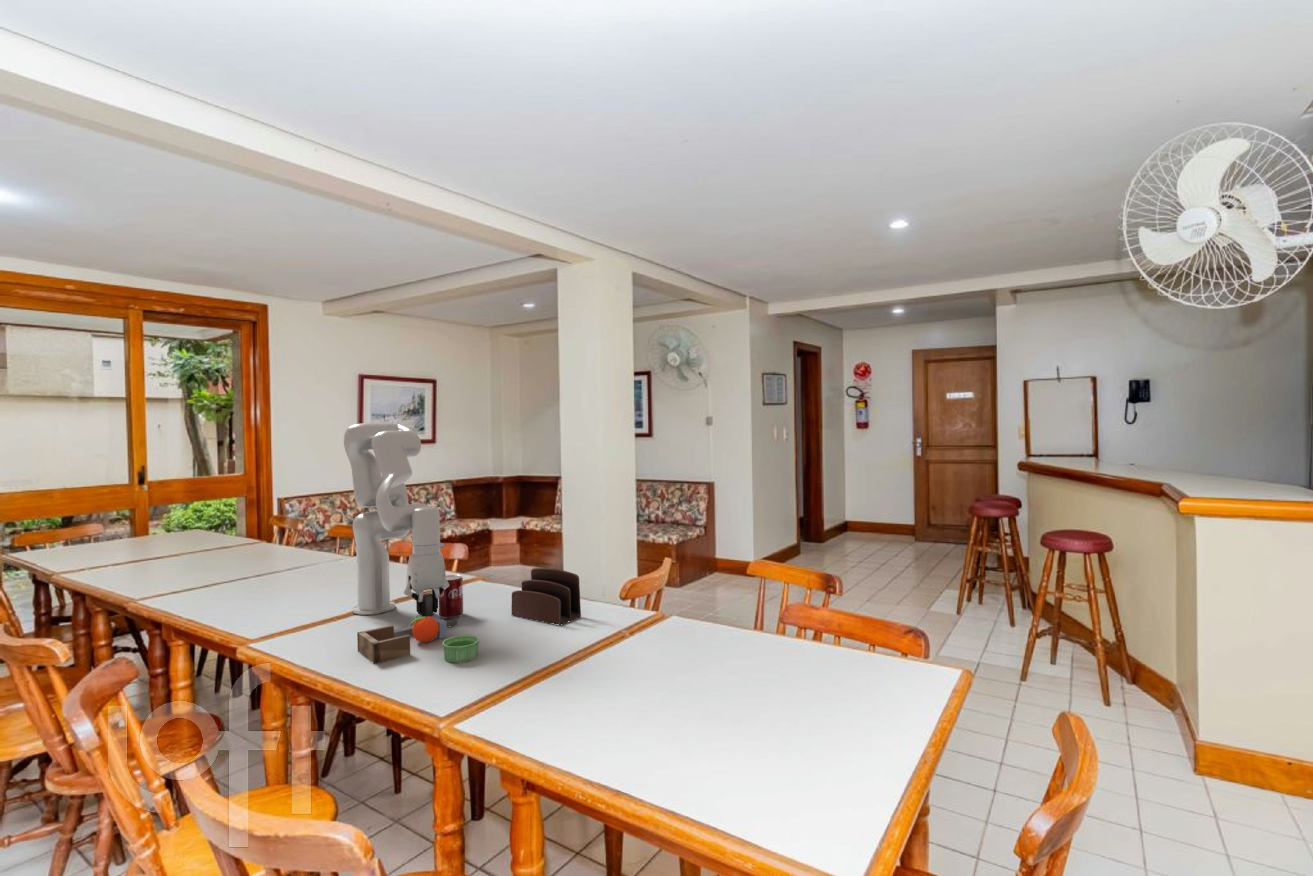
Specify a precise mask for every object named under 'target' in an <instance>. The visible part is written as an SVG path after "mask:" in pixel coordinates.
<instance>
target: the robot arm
mask: <svg viewBox="0 0 1313 876" xmlns="http://www.w3.org/2000/svg"><path fill="white" fill-rule="evenodd" d="M343 447H344V450H345V453H346V454H345V455H346V457H347V458H348V461H349V463H350V467H351V476H352V477H351V479H352V486H353V494H354V495H353V496H354V500H355V504H356V505H357V506H358V507H360V508H376V510H374V511H365V512H363V513H360V514H358V515H357V516H355V518H354V519H353V522H352V533H353V536H354V541H355V542H354V543H355V549H356V550H355V551H356V579H357V580H356V582H357V585H356V587H357V605H354V606H353V607H352V613H353V614H356V615H360V616H361V615H363V616H364V615H365V616H366V615H368V616H369V615H378V614H382V612H383V613H387V612H390V611H393V609H395V608H396V603H395V601H392V600H391V598H390V597H391V594H390V593H391V592H390V590H391V589H390V588H391V587H390V556H389V555H390V553H389V551H388V549H387V548H386V547H385V546H384V544H383V543H382V541H385V540H391V539H398V538H403V537H406V536H407V534H409V532H410V531H411V537H412V538H411V539H412V540H411V542H412V543H411V547H412V550H411V551H412V554H411V555H409V556H408V557H409V558H408V562H407V568H406V587H405V589H404V590H403V594H404V595H406V596H409V597H411V598H412V599H413V600H414V601H416V602H415V603H416V606H415V607H416V612H417V615H422V616H423V615H425V602H424V601H423V594H424V591H429V590H430V592H431V593H430V594H433V613H435V614H438V610H439V597H440V595H441V593H442V592H443V591H444V590H445V589H446V588H448V587H449V583H448V581H447V580H446V576H447V574H446V565H445V564H446V563H445V559H444V555H443V552H441V550H442V549H443V548H445V543H441V531H440V526H441V525H440V520H441V519H440V510H439V509H438V507H436V506H432V505H431V506H430V505H428V504H426V503H413V504H411V503H409V498H408V491H407V486H406V484H405V483H406V482H407V481H409V479H410V478H411V477H412V475H413V470H412V467H411V465H410V461H409V459H408V458H409V457H417V456H418V455H419V454H420V452H421V450H422V449H421V448H422V441H421V440H420V437H419V435H418V434H417V432H415V431H414V430H412V429H411V428H409V427H407V426H404V425H403V424H400V423H395V422H392V423H389V422H386V423H385V422H384V423H383V422H380V423H378V422H376V423H375V422H370V423H369V422H368V423H366V422H364V423H363V422H362V423H357V424H352V425H350V426H349V427H347V428H346V430H345V432H344V435H343ZM370 450H373V453H374V454H373V453H372V451H370ZM412 591H413V592H412Z"/></svg>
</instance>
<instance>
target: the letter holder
mask: <svg viewBox="0 0 1313 876" xmlns="http://www.w3.org/2000/svg"><path fill="white" fill-rule="evenodd" d="M580 587H581V586H580V577H579V575H578V574H576V573H573V572H570V571H567V570H563V569H557V568H548V567H533V568H532V569H531V570H530V579H524V580H522V581H521V589H520V590H514V591H512V592H511V616H512V615H513V616H512V617H515V616H516V617H517V618H520V617H522V618H521V619H525V618H527V619H526V620H530V619H532V620H531V621H535V620H538V621H537V622H540V621H544V622H543V623H545V622H547V624H550V623H554V624H559V625H561V624H563V625H565V624H567V622H568V621H570V622H572V621H571V620H573V621H575V620H577V619H576V618H578V619H580V618H581V617H582V611H581V591H580V590H581V588H580ZM579 617H580V618H579ZM574 619H575V620H574ZM564 623H565V624H564ZM568 623H569V622H568ZM554 624H553V625H554ZM559 625H558V626H559ZM561 626H562V625H561Z"/></svg>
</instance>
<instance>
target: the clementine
mask: <svg viewBox="0 0 1313 876" xmlns="http://www.w3.org/2000/svg"><path fill="white" fill-rule="evenodd" d="M413 622H414V623H413ZM412 623H413V628H412V633H413V636H412V637H413V638H414V639H415V641H417V642H419V643H425V644H426V643H429V642H432V641H433V640H435V639H436V638H437V637H436V636H437V634H438V632H439V625H438V622H437V621H436V620H435V619H434V618H433V617H430V616H424V617H419V618H417V619H416V618H415V619H413V620H412V621H411V622H410V623H409V625H411V624H412ZM408 628H409V627H408Z"/></svg>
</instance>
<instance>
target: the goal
mask: <svg viewBox="0 0 1313 876" xmlns="http://www.w3.org/2000/svg"><path fill="white" fill-rule="evenodd" d="M394 629H395V627H394V625H393V624H390V625H386V626H380V627H377V628H376V627H375V628H373V629H372V628H371V629H367V630H363V631H358V632H356V633H357V634H356V635H357V636H356V637H357V639H356V640H357V652H358V653H359V652H360V653H359V654H360V655H362V656H363V655H364V656H363V657H364V658H366V659H367V660H368V661H370V662H371V663H372V662H373V664H374V665H376V664H380V663H384V662H388V661H392V660H396V659H400V658H403V657H407V655H408V656H411V636H410V635H404V636H400V637H395V638H394ZM387 660H388V661H387ZM379 662H380V663H379ZM375 663H376V664H375Z"/></svg>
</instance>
